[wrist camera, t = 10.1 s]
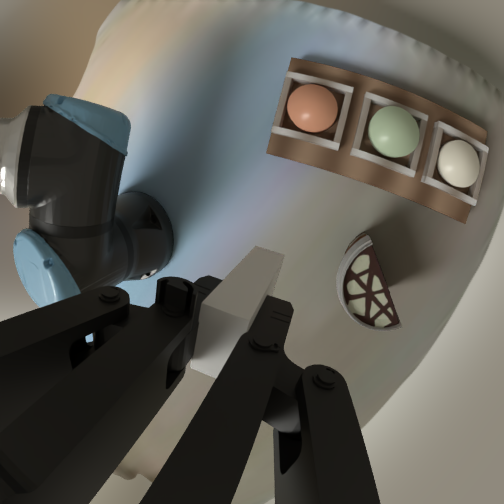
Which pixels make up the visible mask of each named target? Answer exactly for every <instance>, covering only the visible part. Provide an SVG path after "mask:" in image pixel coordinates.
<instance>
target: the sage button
mask: <svg viewBox="0 0 504 504" xmlns="http://www.w3.org/2000/svg"><path fill="white" fill-rule="evenodd" d="M368 136H369V140H370V142H371V144H372V146H373V147H374V148H375V149H376V150H377V151H378V152H379V153H381V154H382V155H384V156H387V157H391V158H396V157H402V156H406V155H408V154H410V153H411V152H413V151H414V150H415V148H416V147H417V145H418V142H419V136H420V134H419V128H418V125H417V122H416V121H415V119H414V118H413V116H412V115H411V114H410V113H409V112H407V111H406V110H404V109H402V108H400V107H396V106H387V107H384V108H382V109H380V110H379V111H377V112H376V113H375V115H374V116H373V117H372V118H371V120H370V122H369V125H368Z"/></svg>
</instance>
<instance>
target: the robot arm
mask: <svg viewBox="0 0 504 504" xmlns="http://www.w3.org/2000/svg"><path fill="white" fill-rule="evenodd" d="M43 104H44V106H28V107H27V108H26V109H25V110H23V112H21V113H20V114H19V115H18V116H16V117H14V118H0V194H3V195H5V196H6V197H7V198H8V199H9V201H10V202H11V203H12V204H13V205H14V207H17V208H23V207H24V208H26V207H29V208H30V210H29V211H30V213H29V228H28V229H27V228H26V229H23V230H22V231H21V232H20V233H18V235H17V236H16V239H15V241H14V247H13V249H14V250H13V251H14V259H15V263H16V268H17V271H18V274H19V276H20V279H21V281H22V283H23V285H24V287H25V289H26V290H27V292H28V294H29V295H30V297H31V298H32V299H33V300H34V302H35V303H36V304H37V305H38V306H39V307H40V308H38V309H35V310H32V311H29V312H26V313H24V314H21V315H18V316H15V317H13V318H10V319H7V320H4V321H1V322H0V504H89V503H90V501H91V500H92V499H93V498H94V496H95V495H96V494H97V492H98V491H99V490H100V489H101V487H102V486H103V485H104V483H105V482H106V480H107V479H108V478H109V477H110V475H111V474H112V473H113V472H114V470H115V469H116V468H117V466H118V465H119V464H120V462H121V461H122V460H123V458H124V457H125V456H126V454H127V453H128V452H129V450H130V449H131V448H132V446H133V445H134V444H135V442H136V441H137V440H138V438H139V437H140V436H141V434H142V433H143V431H144V430H145V429H146V427H147V426H148V425H149V423H150V422H151V421H152V419H153V418H154V417H155V415H156V414H157V412H158V411H159V410H160V408H161V407H162V406H163V404H164V403H165V402H166V400H167V399H168V397H169V396H170V395H171V393H172V392H173V391H174V389H175V388H176V386H177V385H178V384H179V382H180V381H181V379H182V378H183V376H184V374H185V369H186V365H187V363H188V362H189V361H190V359H191V358H192V360H191V366H190V368H192V369H194V370H197V371H199V372H201V373H204V374H206V375H209V376H211V377H214V378H216V380H215V382H214V383H213V385H212V387H211V388H210V390H209V392H208V394H207V395H206V397H205V399H204V400H203V402H202V404H201V405H200V407H199V409H198V410H197V412H196V414H195V415H194V417H193V419H192V420H191V422H190V424H189V425H188V427H187V429H186V430H185V432H184V434H183V435H182V437H181V439H180V440H179V442H178V443H177V445H176V447H175V448H174V450H173V452H172V453H171V455H170V456H169V458H168V460H167V461H166V463H165V464H164V466H163V467H162V469H161V471H160V472H159V474H158V475H157V477H156V478H155V480H154V482H153V483H152V485H151V486H150V488H149V489H148V491H147V493H146V494H145V496H144V497H143V499H142V500H141V502H140V503H139V504H231V502H232V499H233V497H234V494H235V492H236V489H237V487H238V484H239V482H240V479H241V477H242V474H243V471H244V469H245V466H246V463H247V461H248V458H249V455H250V452H251V450H252V447H253V444H254V441H255V438H256V436H257V433H258V430H259V427H260V424H261V421H262V420H263V421H265V422H266V423H268V424H269V425H271V426H272V427H274V430H273V439H274V477H275V504H380V500H379V496H378V492H377V488H376V484H375V480H374V476H373V472H372V468H371V465H370V461H369V457H368V454H367V450H366V447H365V443H364V439H363V436H362V433H361V429H360V426H359V422H358V419H357V416H356V412H355V409H354V406H353V402H352V399H351V396H350V393H349V390H348V386H347V383H346V381H345V379H344V378H343V376H342V375H341V374H340V373H339V372H338V371H336V370H334V369H332V368H331V367H328V366H324V365H311V366H308V367H306V368H305V369H302V368H301V367H299V366H297V365H296V364H294V363H293V362H292V361H291V360H289V359H288V357H287V356H286V354H285V352H284V343H285V340H286V336H287V333H288V329H289V326H290V322H291V319H292V315H293V311H294V309H293V307H292V305H291V303H290V302H287V301H284V300H281V299H278V298H275V297H272V294H273V291H274V288H275V285H276V281H277V278H278V275H279V272H280V269H281V265H282V262H283V259H284V255H283V254H280V253H277V252H273V251H270V250H267V249H264V248H261V247H258V246H255V247H254V248H253V249H252V250H251V251H250V253H249V254H248V255H247V256H246V257H245V258H244V259H243V260H242V261H241V262H240V263H239V264H238V265H237V266H236V267H235V268H234V269H233V270H232V271H231V272H230V273H229V275H228V276H227V277H226V278H225V279H224V280H220V279H218V278H215V277H212V276H209V275H208V276H205V277H201V278H199V279H198V280H197V281H195V282H194V283H192V282H190V281H188V280H187V279H183V278H180V277H163V278H160V279H158V280H157V289H156V299H155V303H154V304H153V305H152V306H150V307H149V308H146V307H141V306H137V305H132V304H130V298H129V294H128V293H127V292H126V291H125V290H123V289H121V288H119V287H115V286H116V285H117V284H119V283H121V282H122V281H130V280H142V279H146V278H149V277H151V276H153V275H155V274H156V273H158V272H159V271H161V270H162V269H163V268H164V267H165V266H166V264H167V263H168V261H169V259H170V257H171V254H172V249H173V231H172V227H171V223H170V220H169V218H168V216H167V214H166V212H165V210H164V209H163V208H162V206H161V205H160V204H159V203H158V202H157V201H156V200H155V199H154V198H152V197H151V196H149V195H147V194H144V193H141V192H129V193H124V194H120V195H118V192H119V186H120V180H121V175H122V170H123V165H124V161H125V156H127V154H128V152H127V146H128V140H129V135H130V130H131V124H130V120H129V119H128V117H127V116H126V115H125V114H123V113H121V112H119V111H116V110H114V109H111V108H108V107H105V106H102V105H99V104H96V103H92V102H89V101H85V100H81V99H77V98H72V97H66V96H60V95H57V94H49V95H48V96H47V97H46V99H45V100H44V101H43ZM91 333H93V341H92V342H88V343H87V342H86V338H85V336H87V335H89V334H91Z"/></svg>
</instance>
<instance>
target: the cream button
mask: <svg viewBox="0 0 504 504" xmlns="http://www.w3.org/2000/svg"><path fill="white" fill-rule="evenodd" d="M436 168H437V171H438V174H439V175H440V177H441V178H442V180H443V181H444V182H446V183H447V184H449V185H451V186H456V187H468V186H471V185H472V184H473V183H474V182H475V181H476V179H477V177H478V175H479V170H480V164H479V159H478V156H477V153H476V152H475V150H474V149H473V147H472V146H471V145H470V144H468V143H467V142H465V141H462V140H454V141H449V142H446V143H444V144H442V145H441V146H440V148H439V152H438V156H437V161H436Z"/></svg>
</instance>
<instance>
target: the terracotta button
mask: <svg viewBox="0 0 504 504" xmlns="http://www.w3.org/2000/svg"><path fill="white" fill-rule="evenodd" d="M287 110H288V114H289V116H290V118H291V120H292V121H293V122H294V124H295V125H296V126H297V127H298V128H299V129H301V130H302V131H304V132H307V133H313V134H315V133H321V132H324V131H326V130H328V129H329V128H330V127H331V126H332V125H333V124H334V122H335V120H336V117H337V111H338V107H337V102H336V99H335V97H334V96H333V94H332V93H331V92H330V91H329V90H327V89H326V88H324V87H322V86H319V85H314V84H308V85H304V86H301V87H299V88H297V89H296V90H295V91H294V92H293V93H292V94H291V95H290V97H289V100H288V104H287Z"/></svg>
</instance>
